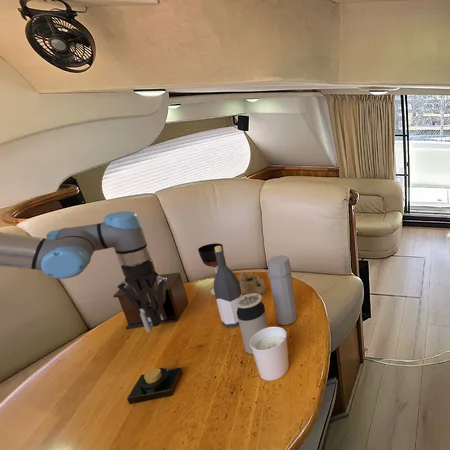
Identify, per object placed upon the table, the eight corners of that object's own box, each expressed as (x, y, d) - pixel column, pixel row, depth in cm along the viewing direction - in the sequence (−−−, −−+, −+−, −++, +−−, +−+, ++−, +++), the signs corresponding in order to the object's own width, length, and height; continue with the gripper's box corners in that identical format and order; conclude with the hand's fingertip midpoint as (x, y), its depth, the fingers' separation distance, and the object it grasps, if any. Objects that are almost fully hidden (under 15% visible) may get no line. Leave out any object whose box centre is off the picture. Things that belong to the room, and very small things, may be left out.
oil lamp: (256, 303, 124) (253, 286, 121) (230, 295, 130) (226, 278, 127) (277, 289, 134) (274, 273, 131) (251, 282, 139) (248, 266, 136)
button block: (129, 404, 83) (124, 393, 81) (143, 380, 90) (139, 369, 88) (172, 395, 85) (168, 384, 84) (182, 372, 92) (179, 362, 91)
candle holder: (254, 386, 88) (246, 353, 84) (259, 360, 97) (252, 329, 92) (290, 379, 90) (285, 346, 86) (292, 354, 99) (287, 324, 95)
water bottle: (302, 318, 116) (294, 258, 107) (283, 329, 110) (273, 267, 101) (287, 309, 121) (278, 251, 112) (269, 319, 115) (258, 259, 106)
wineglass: (211, 286, 136) (201, 244, 128) (233, 283, 138) (224, 242, 131) (206, 296, 129) (195, 253, 121) (230, 293, 131) (220, 250, 124)
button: (143, 385, 84) (141, 380, 83) (149, 374, 87) (147, 369, 87) (158, 382, 85) (157, 377, 84) (164, 371, 88) (162, 367, 88)
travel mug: (274, 346, 102) (266, 300, 96) (249, 358, 98) (238, 311, 91) (266, 334, 108) (257, 289, 101) (241, 344, 103) (231, 299, 97)
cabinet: (126, 329, 110) (112, 295, 105) (141, 309, 121) (130, 278, 115) (177, 321, 114) (167, 288, 109) (188, 302, 125) (179, 272, 120)
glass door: (131, 341, 103) (119, 311, 99) (145, 321, 112) (135, 293, 108) (154, 337, 105) (144, 307, 100) (166, 318, 114) (157, 290, 110)
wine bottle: (251, 315, 117) (236, 243, 106) (236, 329, 110) (218, 253, 99) (233, 312, 119) (217, 240, 108) (217, 325, 112) (197, 250, 101)
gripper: (165, 253, 101) (183, 313, 109) (117, 258, 97) (140, 320, 106) (155, 264, 94) (175, 327, 102) (103, 269, 91) (128, 334, 99)
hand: (157, 323), depth 104 cm, fingers closed
